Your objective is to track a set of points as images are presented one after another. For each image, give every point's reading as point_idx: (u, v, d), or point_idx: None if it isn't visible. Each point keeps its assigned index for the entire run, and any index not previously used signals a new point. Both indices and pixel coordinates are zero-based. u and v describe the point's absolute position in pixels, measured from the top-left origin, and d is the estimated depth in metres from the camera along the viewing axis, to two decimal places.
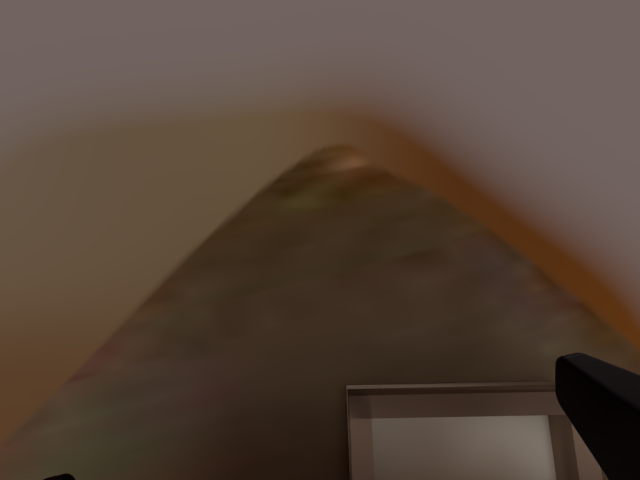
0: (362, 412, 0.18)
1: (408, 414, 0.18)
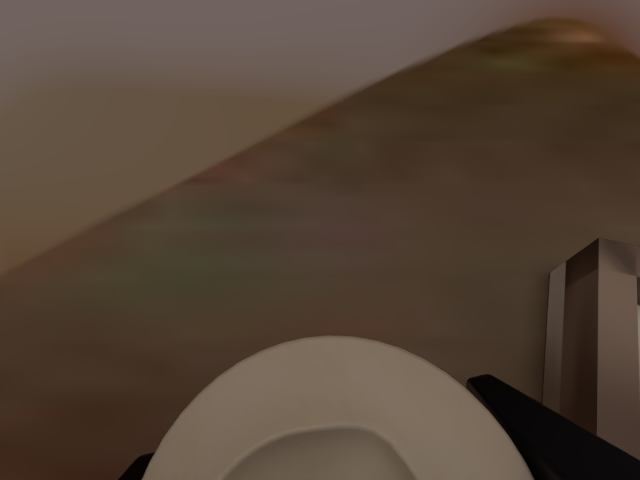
0: (621, 265, 0.11)
1: None
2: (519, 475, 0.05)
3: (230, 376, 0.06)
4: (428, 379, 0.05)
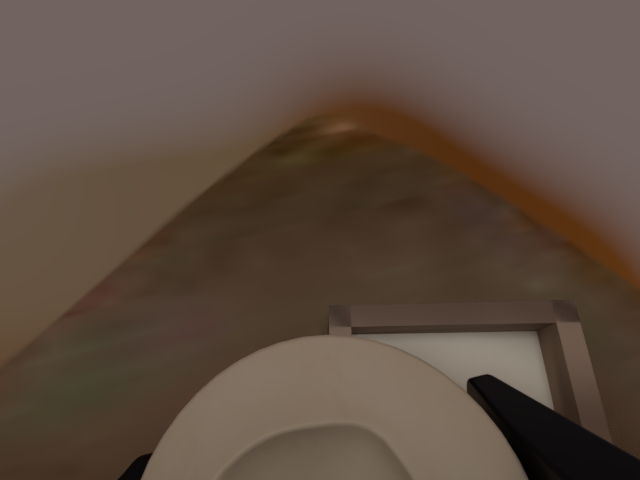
0: (342, 321, 0.18)
1: (388, 323, 0.18)
2: (511, 472, 0.05)
3: (228, 375, 0.06)
4: (422, 377, 0.05)
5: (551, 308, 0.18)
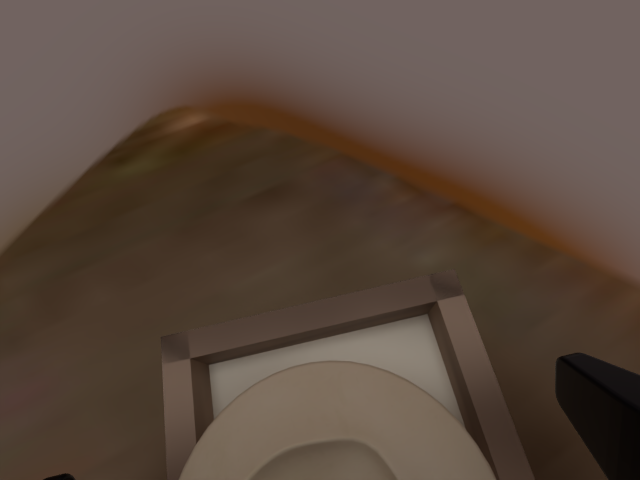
0: (178, 354, 0.14)
1: (236, 343, 0.14)
2: (482, 476, 0.06)
3: (248, 396, 0.07)
4: (410, 398, 0.07)
5: (429, 284, 0.14)
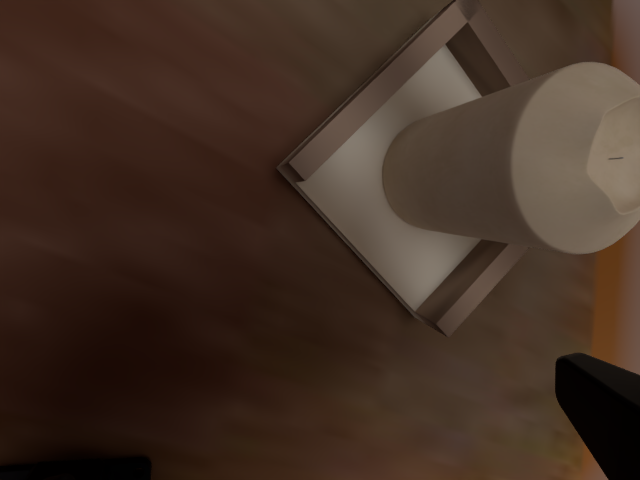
0: (466, 10, 0.17)
1: (490, 52, 0.18)
2: None
3: (629, 77, 0.11)
4: None
5: None
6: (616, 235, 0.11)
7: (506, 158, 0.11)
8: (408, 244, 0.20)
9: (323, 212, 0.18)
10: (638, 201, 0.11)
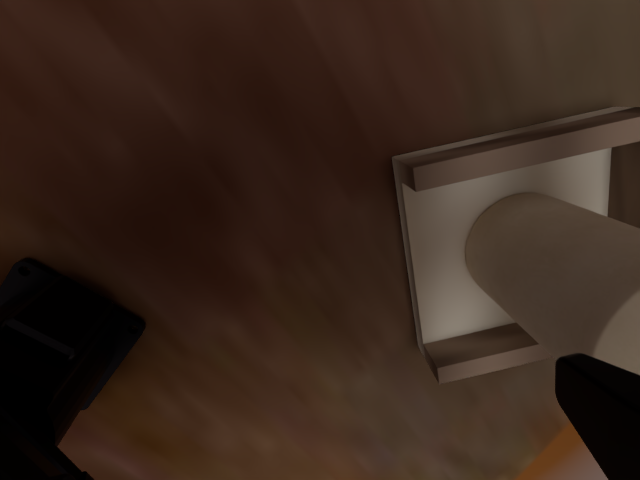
0: None
1: None
2: None
3: None
4: None
5: None
6: None
7: (615, 303, 0.11)
8: (456, 289, 0.20)
9: (407, 220, 0.19)
10: None
